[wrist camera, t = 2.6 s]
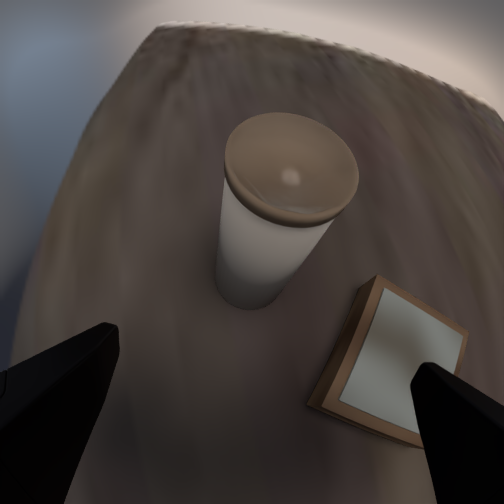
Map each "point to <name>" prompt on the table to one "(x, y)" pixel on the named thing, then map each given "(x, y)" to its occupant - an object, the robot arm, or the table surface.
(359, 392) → the plinth
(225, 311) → the table surface
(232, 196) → the tumbler
